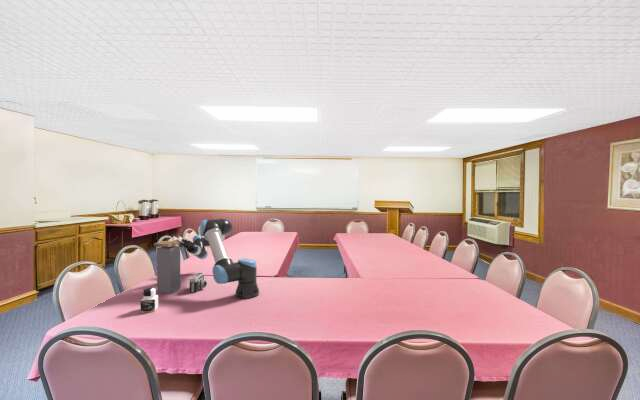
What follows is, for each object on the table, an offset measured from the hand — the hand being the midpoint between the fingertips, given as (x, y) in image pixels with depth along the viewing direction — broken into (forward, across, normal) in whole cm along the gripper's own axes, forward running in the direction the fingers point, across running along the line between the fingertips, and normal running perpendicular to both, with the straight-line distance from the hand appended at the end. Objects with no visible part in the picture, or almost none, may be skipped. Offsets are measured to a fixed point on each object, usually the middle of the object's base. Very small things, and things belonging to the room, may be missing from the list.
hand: (175, 238), depth 201 cm
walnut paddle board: (+1, 0, -5) cm, 5 cm away
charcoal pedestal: (-11, 0, -34) cm, 36 cm away
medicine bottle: (+15, -12, -49) cm, 53 cm away
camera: (-17, -19, -31) cm, 40 cm away
